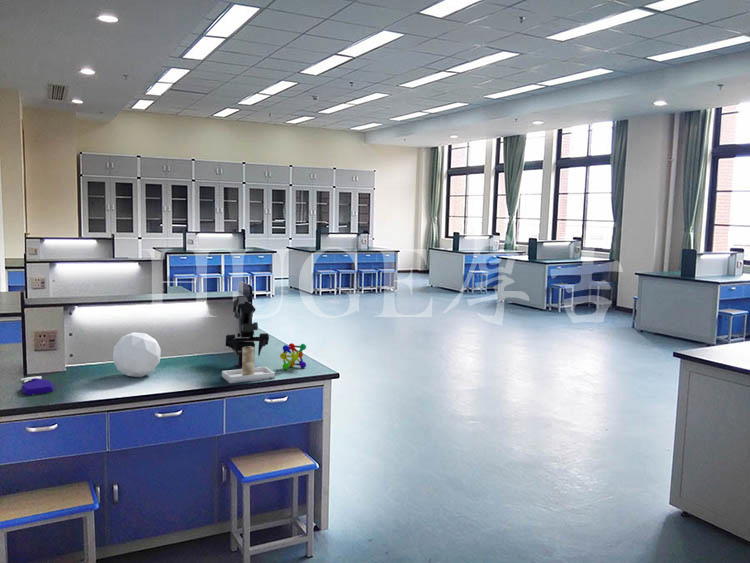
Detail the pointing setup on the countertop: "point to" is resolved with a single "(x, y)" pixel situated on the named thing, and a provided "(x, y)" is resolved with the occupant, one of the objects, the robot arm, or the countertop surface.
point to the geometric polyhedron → (136, 354)
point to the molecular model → (293, 356)
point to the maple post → (248, 360)
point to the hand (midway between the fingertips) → (248, 355)
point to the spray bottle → (36, 385)
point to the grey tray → (236, 375)
